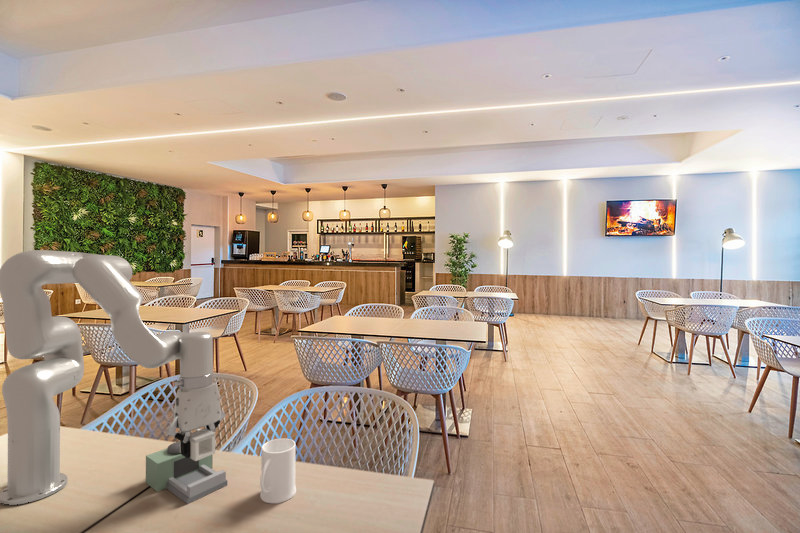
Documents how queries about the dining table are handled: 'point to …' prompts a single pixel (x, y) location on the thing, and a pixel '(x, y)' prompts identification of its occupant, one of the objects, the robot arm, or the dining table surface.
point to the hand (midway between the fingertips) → (197, 451)
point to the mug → (278, 471)
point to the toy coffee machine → (182, 474)
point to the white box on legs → (201, 444)
